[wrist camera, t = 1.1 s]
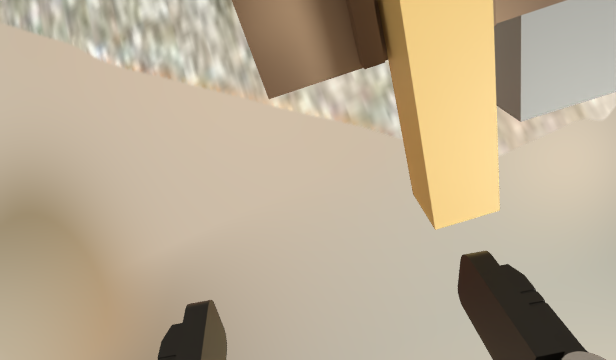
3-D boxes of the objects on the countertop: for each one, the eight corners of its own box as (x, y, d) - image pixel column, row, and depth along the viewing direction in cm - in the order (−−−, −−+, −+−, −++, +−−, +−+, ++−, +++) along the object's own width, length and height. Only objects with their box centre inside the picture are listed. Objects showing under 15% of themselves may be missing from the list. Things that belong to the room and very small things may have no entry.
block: (489, -88, 43) (659, -114, 25) (493, 36, 50) (627, 88, 32) (411, -61, 43) (521, -66, 25) (426, 58, 51) (520, 121, 32)
